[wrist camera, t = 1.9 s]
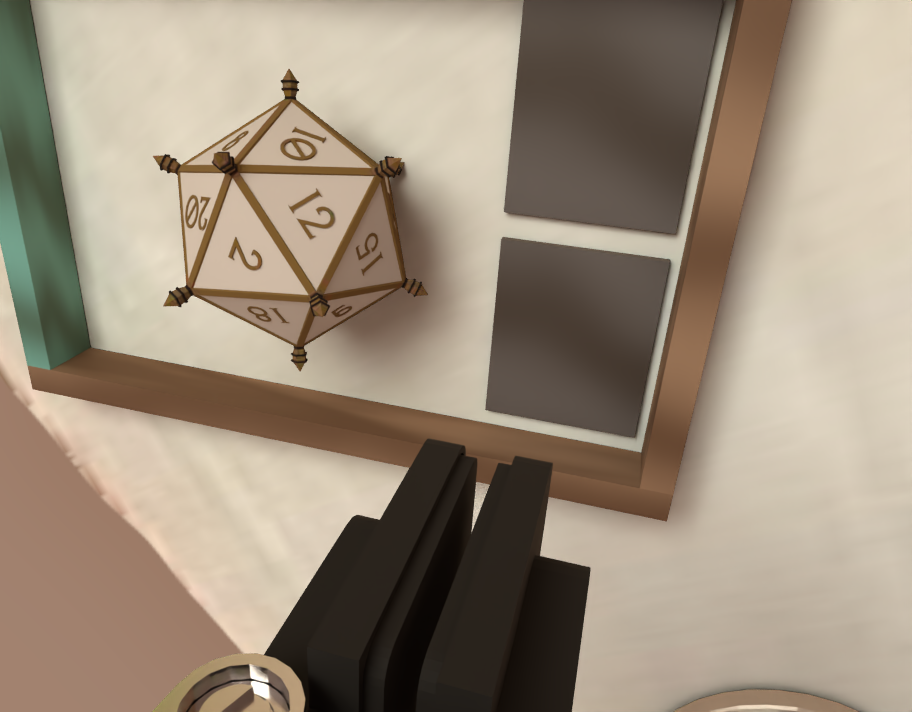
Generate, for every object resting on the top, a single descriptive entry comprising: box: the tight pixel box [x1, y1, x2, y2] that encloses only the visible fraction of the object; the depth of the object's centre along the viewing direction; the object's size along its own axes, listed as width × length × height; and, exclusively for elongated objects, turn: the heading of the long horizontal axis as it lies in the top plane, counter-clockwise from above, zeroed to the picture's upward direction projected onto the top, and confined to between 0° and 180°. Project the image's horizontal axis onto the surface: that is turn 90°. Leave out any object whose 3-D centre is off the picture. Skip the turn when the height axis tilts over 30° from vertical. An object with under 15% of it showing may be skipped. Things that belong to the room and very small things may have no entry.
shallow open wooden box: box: [0, 0, 792, 521], centre depth 26 cm, size 19×28×2 cm
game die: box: [153, 69, 428, 371], centre depth 24 cm, size 9×8×10 cm
